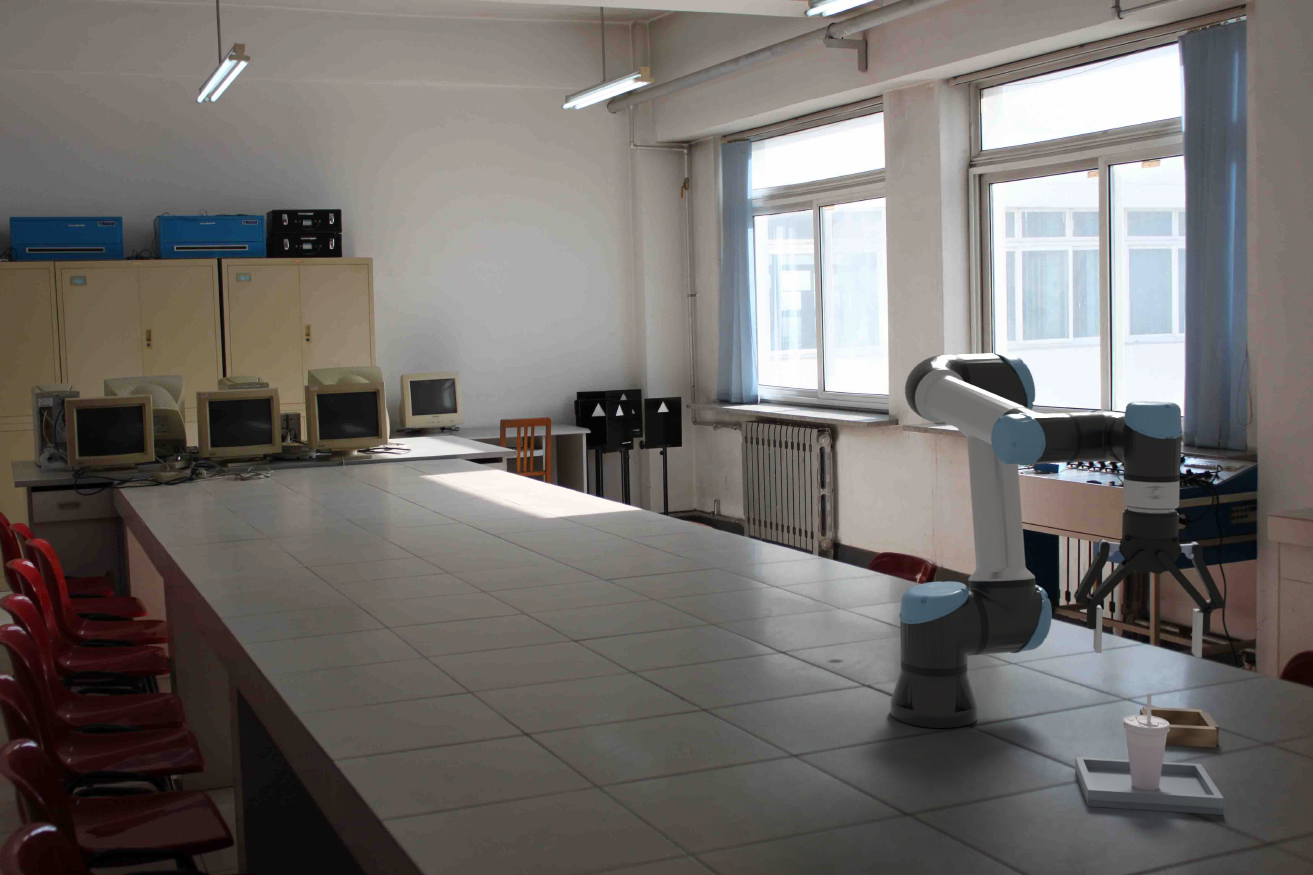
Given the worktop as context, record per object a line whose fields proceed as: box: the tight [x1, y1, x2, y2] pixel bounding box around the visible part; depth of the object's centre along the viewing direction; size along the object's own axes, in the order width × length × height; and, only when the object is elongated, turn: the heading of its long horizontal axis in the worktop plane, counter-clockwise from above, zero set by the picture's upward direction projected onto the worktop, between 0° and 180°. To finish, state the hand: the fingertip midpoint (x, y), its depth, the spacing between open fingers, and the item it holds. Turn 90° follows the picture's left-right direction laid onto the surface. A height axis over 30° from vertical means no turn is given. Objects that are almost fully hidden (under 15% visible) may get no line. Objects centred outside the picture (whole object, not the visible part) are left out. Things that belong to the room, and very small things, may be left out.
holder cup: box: [1139, 706, 1220, 748], centre depth 201 cm, size 11×11×3 cm
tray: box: [1074, 756, 1225, 816], centre depth 175 cm, size 18×14×2 cm
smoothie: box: [1122, 692, 1170, 790], centre depth 175 cm, size 6×6×14 cm
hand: (1146, 652), depth 174 cm, fingers open, 13 cm apart
